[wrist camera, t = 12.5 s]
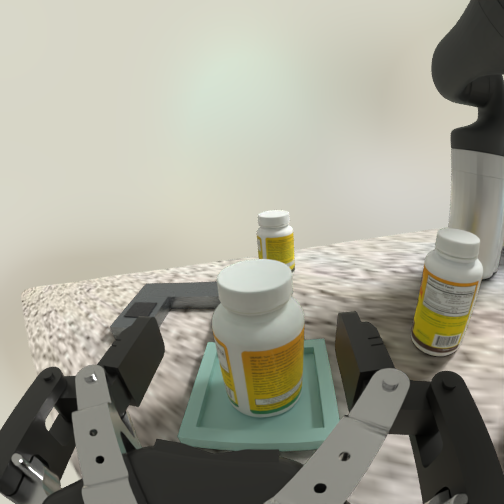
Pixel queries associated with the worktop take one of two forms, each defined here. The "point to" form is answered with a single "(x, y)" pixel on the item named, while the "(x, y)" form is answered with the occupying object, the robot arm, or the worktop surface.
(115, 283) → the worktop surface
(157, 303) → the grey notched plate
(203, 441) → the tray
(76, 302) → the worktop surface
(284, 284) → the supplement bottle
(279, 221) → the supplement bottle
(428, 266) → the supplement bottle
